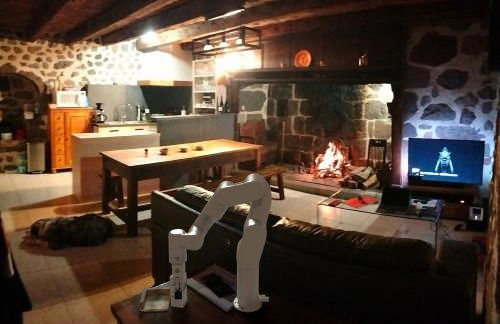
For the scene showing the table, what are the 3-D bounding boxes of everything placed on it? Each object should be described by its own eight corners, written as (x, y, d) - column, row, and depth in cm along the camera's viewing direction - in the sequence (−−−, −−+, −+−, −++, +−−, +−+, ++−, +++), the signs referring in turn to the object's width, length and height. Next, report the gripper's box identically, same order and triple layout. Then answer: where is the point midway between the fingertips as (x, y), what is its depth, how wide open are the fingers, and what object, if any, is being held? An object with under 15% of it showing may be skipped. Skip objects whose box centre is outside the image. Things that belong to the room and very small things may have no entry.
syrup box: (183, 308, 178) (182, 278, 175) (170, 306, 179) (169, 276, 176) (187, 301, 183) (187, 271, 180) (175, 299, 184) (174, 270, 181)
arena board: (170, 295, 187) (170, 287, 186) (168, 310, 176) (167, 301, 175) (144, 296, 186) (143, 288, 185) (139, 311, 175) (139, 302, 174)
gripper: (185, 266, 168) (186, 305, 172) (187, 248, 185) (188, 284, 189) (167, 267, 167) (168, 305, 171) (171, 249, 184) (172, 284, 188)
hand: (179, 294), depth 180 cm, fingers closed on syrup box, 6 cm apart
